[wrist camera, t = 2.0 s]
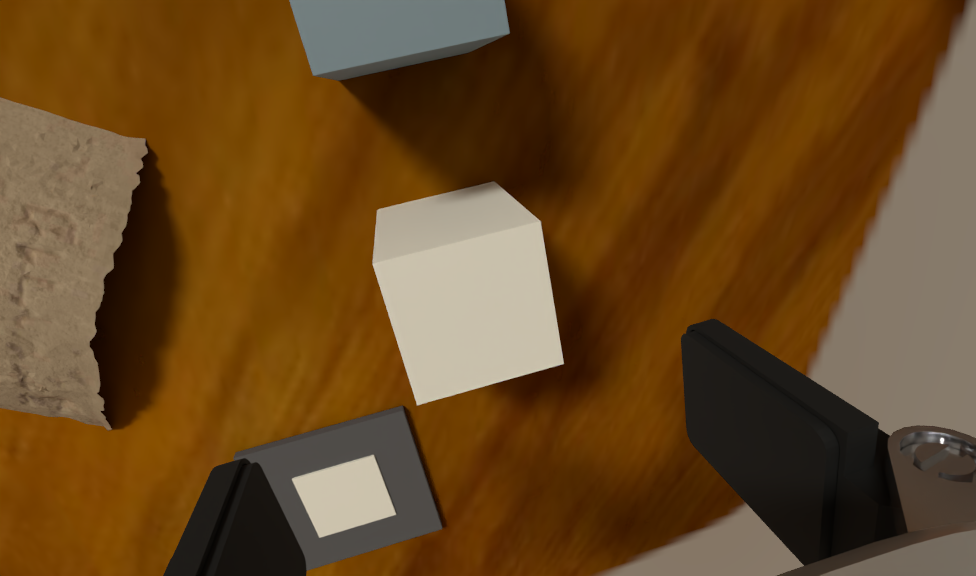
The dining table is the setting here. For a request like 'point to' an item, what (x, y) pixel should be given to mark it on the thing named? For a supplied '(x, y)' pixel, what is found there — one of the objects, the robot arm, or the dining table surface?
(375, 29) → the slate-blue block
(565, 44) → the dining table surface
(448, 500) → the dining table surface
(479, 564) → the dining table surface
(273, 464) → the card
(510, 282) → the cream block
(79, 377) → the clay tablet
